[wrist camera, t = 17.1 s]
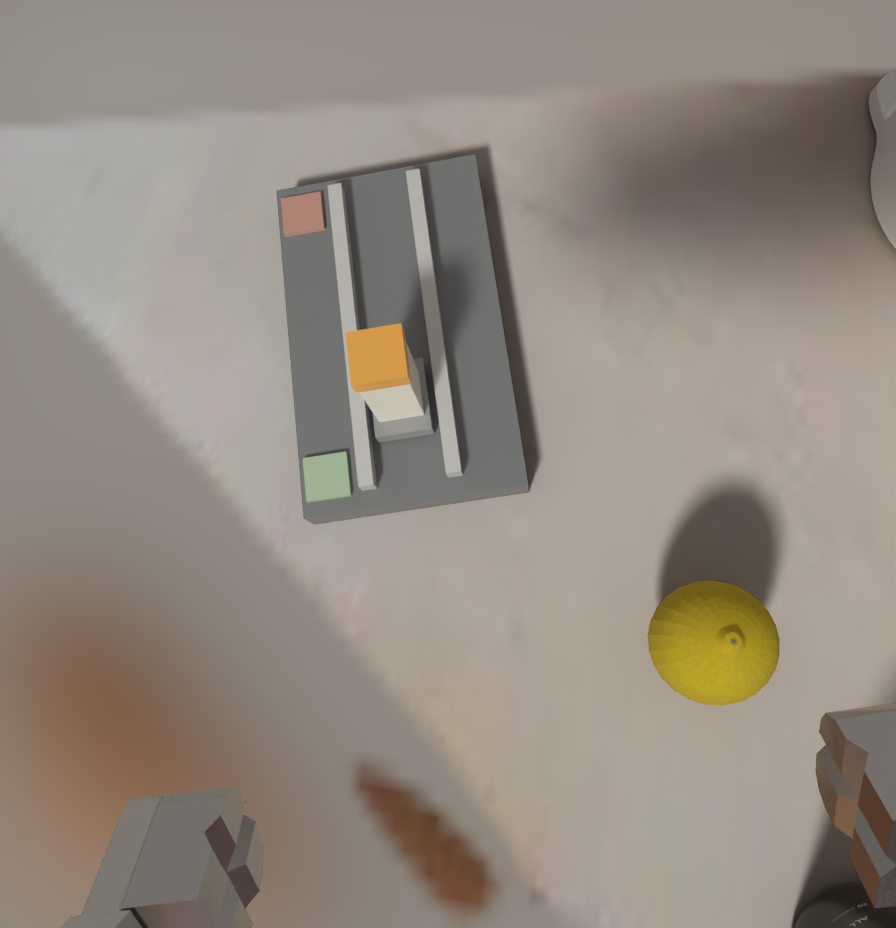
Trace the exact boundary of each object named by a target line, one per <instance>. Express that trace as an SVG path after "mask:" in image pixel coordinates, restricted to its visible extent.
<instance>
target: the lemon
mask: <svg viewBox="0 0 896 928" xmlns="http://www.w3.org/2000/svg"><path fill="white" fill-rule="evenodd" d="M648 642H649V652H650V655H651V658H652V661H653V664H654V666H655V668H656V669H657V671H658V672H659V674H660V675H661V677H662V679H663V680H664V681H665V682H666V683H667V684H668V685H669V686H671V687H672V688H673V689H674V690H675V691H676V692H678V693H680V694H681V695H683V696H685V697H686V698H688V699H690V700H693V701H696V702H700V703H703V704H709V705H727V704H732V703H737V702H741V701H743V700H745V699H747V698H749V697H751V696H753V695H755V694H756V693H757V692H758V691H759V690H760V689H761V688H762V687H764V686H765V685H766V684H767V683H768V681H769V679H770V678H771V676H772V674H773V673H774V671H775V669H776V666H777V662H778V658H779V636H778V632H777V628H776V625H775V623H774V621H773V619H772V617H771V615H770V613H769V612H768V610H767V609H766V608H765V607H764V606H763V605H762V604H761V602H760V601H759V600H758V599H757V598H755V597H754V596H752V595H751V594H750V593H748V592H747V591H746V590H744V589H742V588H739V587H737V586H734V585H732V584H729V583H725V582H718V581H712V580H710V581H698V582H693V583H690V584H687V585H684V586H681V587H679V588H678V589H676V590H675V591H673V592H672V593H670V594H669V595H667V596H666V597H665V599H664V600H663V601H662V602H661V603H660V604H659V606H658V607H657V608H656V610H655V613H654V615H653V617H652V619H651V621H650V627H649V633H648Z"/></svg>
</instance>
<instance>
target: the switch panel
mask: <svg viewBox="0 0 896 928" xmlns="http://www.w3.org/2000/svg"><path fill="white" fill-rule="evenodd" d="M277 203H278V215H279V227H280V239H281V251H282V263H283V275H284V287H285V299H286V311H287V323H288V336H289V348H290V360H291V372H292V384H293V396H294V408H295V420H296V432H297V444H298V456H299V468H300V480H301V493H302V505H303V517H304V519H306V520H307V521H309V522H311V523H313V524H320V523H327V522H333V521H340V520H347V519H353V518H360V517H367V516H373V515H380V514H387V513H393V512H400V511H407V510H413V509H420V508H427V507H433V506H440V505H447V504H453V503H460V502H467V501H473V500H480V499H487V498H493V497H500V496H507V495H513V494H520V493H527V492H529V488H528V479H527V473H526V467H525V460H524V454H523V448H522V442H521V436H520V429H519V423H518V417H517V411H516V404H515V398H514V392H513V386H512V380H511V373H510V367H509V361H508V355H507V348H506V342H505V336H504V330H503V323H502V317H501V311H500V305H499V299H498V292H497V286H496V280H495V274H494V267H493V261H492V255H491V249H490V243H489V236H488V230H487V224H486V218H485V211H484V205H483V199H482V193H481V187H480V180H479V174H478V168H477V162H476V155H475V154H473V155H467V156H462V157H456V158H451V159H446V160H440V161H435V162H429V163H424V164H419V165H413V166H408V167H402V168H397V169H391V170H386V171H381V172H375V173H370V174H364V175H359V176H353V177H348V178H343V179H337V180H332V181H326V182H321V183H315V184H310V185H305V186H299V187H294V188H288V189H283V190H277ZM399 323H401V324H402V326H403V328H404V331H405V337H406V343H407V345H408V347H409V350H410V352H411V355H412V357H413V359H416V358H422V357H423V360H424V363H425V367H426V375H427V382H428V390H429V397H430V405H431V413H432V420H433V428H434V434H431V435H424V436H418V437H412V438H405V439H399V440H393V441H386V442H380V443H379V442H378V441H377V439H376V438H375V430H374V421H373V412H372V411H371V409H370V408H369V406H368V405H367V403H366V402H365V400H364V399H363V397H362V396H361V394H360V393H356V392H355V391H354V389H353V388H352V386H351V381H350V371H349V362H348V352H347V342H346V332H351V331H357V330H363V329H369V328H375V327H381V326H387V325H393V324H399Z"/></svg>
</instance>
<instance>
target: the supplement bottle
mask: <svg viewBox="0 0 896 928" xmlns="http://www.w3.org/2000/svg"><path fill="white" fill-rule="evenodd" d="M795 928H896V906H895V907H882V908H874V906H873V904H872V902H871V900H870V898H869V896H868V894H867V892H866V890H865V888H864V886H863V884H862V883H848V884H842V885H838V886H835V887H832V888H829V889H827V890H825V891H824V892H822V893H820V894H819V895H817V896H816V897H815V898H814V899H813V900H811V902H810V903H809V904H808V905H807V906H806V907H805V909H804V910H803V911H802V913H801V915H800V916H799V918H798V920H797V923H796V925H795Z"/></svg>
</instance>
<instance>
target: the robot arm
mask: <svg viewBox="0 0 896 928" xmlns="http://www.w3.org/2000/svg"><path fill="white" fill-rule="evenodd" d="M869 109H870V114H871V117H872V121H873V124H874V127H875V131H876V134H877V143H876V150H875V154H874V159H873V164H872V169H871V195H872V201H873V205H874V209H875V212H876V215H877V218H878V220H879V223H880V225H881V227H882V229H883V231H884V233H885V235H886V236H887V238H888V239H889V241H890V242H891V244H892V245H893V246H894V248H895V249H896V70H894V71H892V72H890V73H889V74H887V75H885V76H884V77H883V78H882V79H881V80H880V81H879V82H878V83H877V85H876V86H875V87H874V88H873V90H872V91H871V93H870V95H869ZM819 732H820V734H821V736H822V738H823V740H824V742H825V743H826V745H825V746H824V747H823V748H822V749H821V750H820V751H819V752H818V753H817V756H816V776H817V781H818V787H819V791H820V794H821V797H822V800H823V803H824V805H825V808H826V810H827V812H828V814H829V816H830V819H831V821H832V823H833V825H834V826H835V827H837V828H838V829H839V830H841V831H842V832H843V833H845V834H846V835H848V836H849V837H850V838H852V844H851V851H850V860H851V862H852V864H853V866H854V868H855V870H856V872H857V874H858V876H859V878H860V880H861V882H862V884H863V886H864V888H865V890H866V892H867V894H868V896H869V898H870V900H871V902H872V904H873V906H874V908H882V907H895V906H896V703H893V704H886V705H879V706H872V707H864V708H857V709H850V710H843V711H836V712H829V713H825V714H824V716H823V717H822V718H821V722H820V730H819ZM245 804H246V801H245V799H244V797H243V796H242V794H241V792H240V790H239V788H230V789H220V790H209V791H199V792H190V793H179V794H169V795H159V796H151V797H142V798H134V799H131V801H130V802H129V803H128V804H127V806H126V807H125V808H124V809H123V811H122V813H121V816H120V818H119V821H118V823H117V826H116V828H115V831H114V833H113V836H112V838H111V841H110V844H109V846H108V848H107V851H106V854H105V856H104V858H103V861H102V864H101V866H100V868H99V871H98V874H97V876H96V879H95V881H94V884H93V886H92V889H91V891H90V894H89V896H88V899H87V901H86V904H85V906H84V909H83V911H82V914H81V915H77V916H71V917H70V918H69V919H68V920H67V921H66V922H65V923H64V924H63V925H62V926H61V927H60V928H252V926H253V923H252V920H251V919H250V916H249V914H248V912H247V910H246V907H247V906H248V904H249V903H250V902H251V901H252V899H253V898H254V897H255V896H256V895H257V893H258V892H259V891H260V886H261V880H262V875H263V863H264V859H263V858H264V853H263V852H264V851H263V850H264V847H263V842H262V837H261V832H260V830H259V828H258V826H257V824H256V822H255V821H254V820H252V819H250V818H249V817H247V816H245V815H243V813H244V809H245Z"/></svg>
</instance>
